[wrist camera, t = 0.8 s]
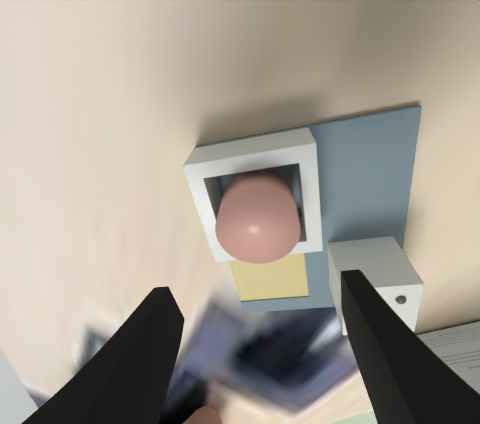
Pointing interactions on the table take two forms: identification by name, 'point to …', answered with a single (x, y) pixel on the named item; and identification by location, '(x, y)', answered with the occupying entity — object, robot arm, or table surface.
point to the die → (377, 274)
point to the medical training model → (204, 416)
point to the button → (258, 218)
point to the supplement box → (458, 350)
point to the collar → (253, 158)
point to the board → (338, 204)
